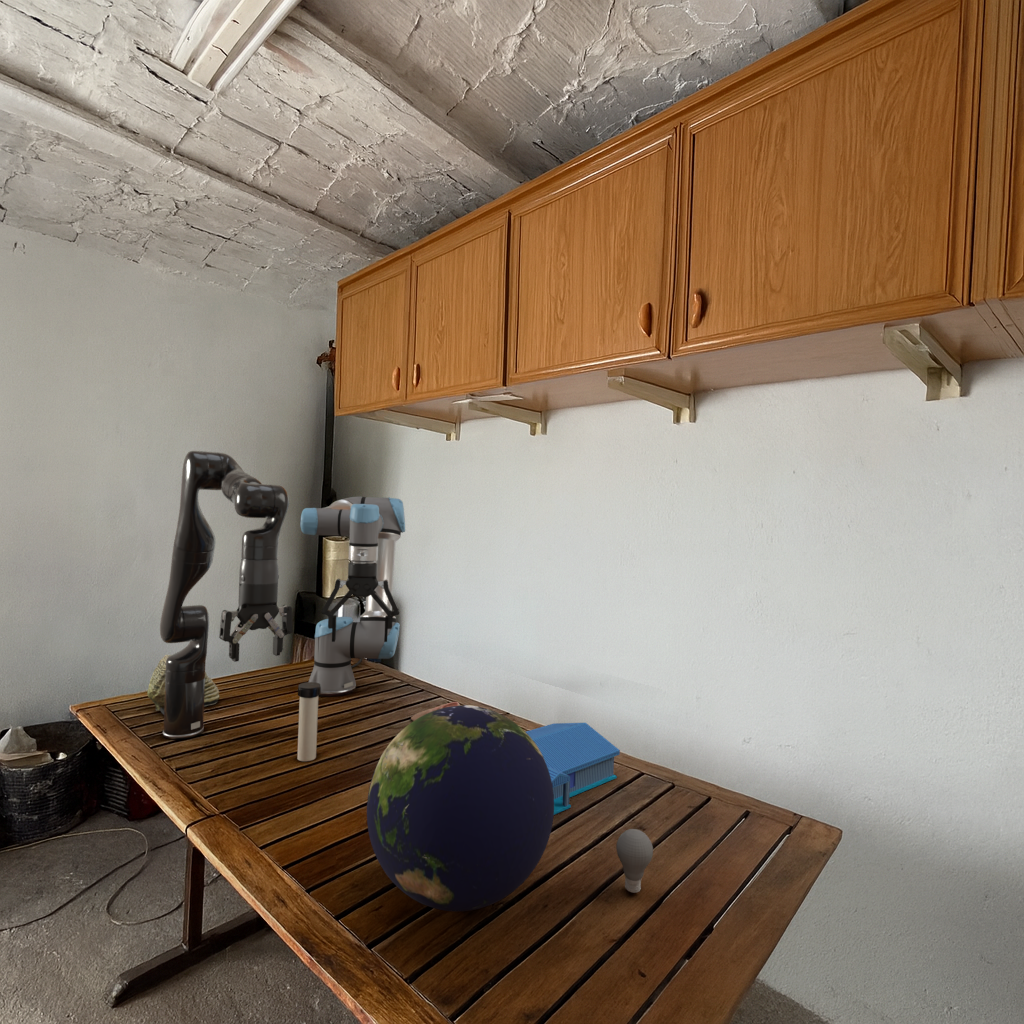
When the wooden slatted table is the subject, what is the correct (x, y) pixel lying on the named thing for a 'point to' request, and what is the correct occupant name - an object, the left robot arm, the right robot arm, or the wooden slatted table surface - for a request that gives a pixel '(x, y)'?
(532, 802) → the globe
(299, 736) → the cream bottle
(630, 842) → the light bulb
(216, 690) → the fossil
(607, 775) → the model building
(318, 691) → the lid
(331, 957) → the wooden slatted table surface
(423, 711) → the anatomical model
